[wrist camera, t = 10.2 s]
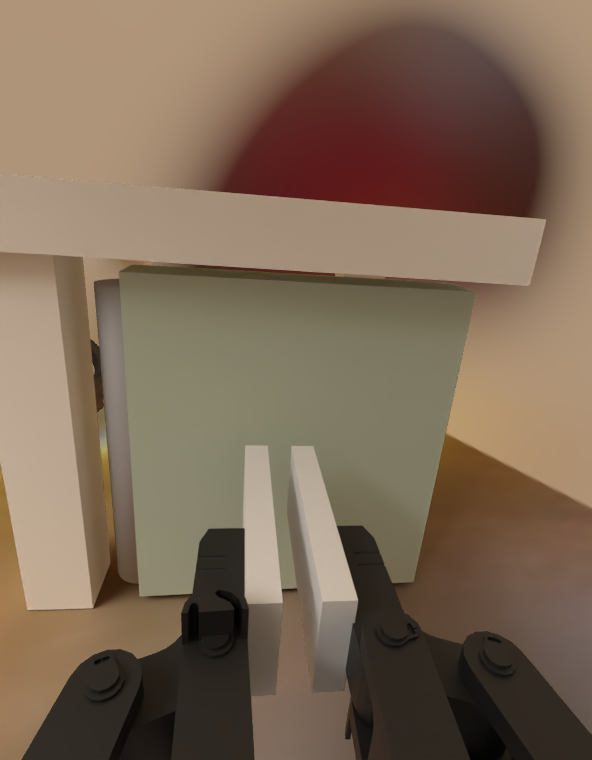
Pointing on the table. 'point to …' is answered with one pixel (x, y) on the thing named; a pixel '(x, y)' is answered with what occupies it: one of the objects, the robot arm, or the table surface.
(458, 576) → the table surface
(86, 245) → the stool
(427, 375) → the panel
